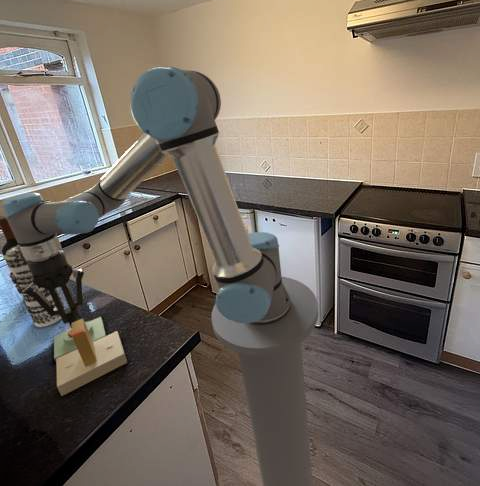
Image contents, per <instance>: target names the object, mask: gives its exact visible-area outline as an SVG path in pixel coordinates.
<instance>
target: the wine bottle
mask: <svg viewBox="0 0 480 486" xmlns="http://www.w3.org/2000/svg"><path fill="white" fill-rule="evenodd" d="M0 230H1V231H2V234H3V236H4V238H5V240H6V242H5V244H4V245H3V246H2V248H1V254H2V256H3V257H4V256H5V255H6V252H7V251H8V250H9V249H11V248H12V247H15V246H18V245H19V244H18V242H17V240H16V238H15V236H14V234H13V232H12V229H11V227H10V225H9V223H8V221H7V219H6V216H5V215H4V216H1V217H0ZM8 266H9V265H8V264H7V267H8ZM13 276H14V275H13ZM15 281H16V280H15ZM18 286H19V285H18Z"/></svg>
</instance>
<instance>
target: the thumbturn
mask: <svg viewBox="0 0 480 486" xmlns="http://www.w3.org/2000/svg"><path fill="white" fill-rule="evenodd" d="M85 322H86V321H85V319H84V318H81V319H80V318H79V319H77V321H75V322H73V323H71V325H72V338H73V340H74V342H75V345H76V347H77V349H78V351H79V354H80V356H81V358H82V360H83V363H84V365H85V366H87V365H89V364H92V363H94V362H96V361H97V359H96V353H95V346H94V344H93V341H92V339H91V336H90V334H89V332H88V329H87V327H86V324H85Z"/></svg>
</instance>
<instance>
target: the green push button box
mask: <svg viewBox="0 0 480 486" xmlns="http://www.w3.org/2000/svg"><path fill="white" fill-rule="evenodd" d="M84 322H85V324H86V327H87V329H88V332H89V334H90V336H91V339H92V341H93V342H94V341H97V340H99V339H101V338H103V337H105V336H107V333H106V330H105V326H104V321H103V318H102V316H99V317H97V318H94V319H92V320H90V321H89V320H88V321H84ZM70 330H71V326H69V328H67V329H66V330H65V331H64V332H61V333H59V334H55V335H54V336H53V359H54V361H55V362H56V359H57V358H59V357H61V356H63V355H66V354H68V353H70V352H72V351H74V350H77V347H76V345H75V342H74V340H73V338H72V337H70V336H69V331H70Z"/></svg>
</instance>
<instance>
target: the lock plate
mask: <svg viewBox="0 0 480 486" xmlns="http://www.w3.org/2000/svg"><path fill="white" fill-rule="evenodd" d="M93 344H94V346H95V353H96V359H97V361H96V362H94V363H92V364H89V365H87V366H85V365H84V363H83V360H82V358H81V356H80V354H79V351H78V349H77V350H74V351H72V352H70V353H68V354H66V355H63V356H61V357H59V358H57V359H56V361H55V362H56V388H57V390H58V392H59V394H60V396H61V397H63V396H65V395H67V394H69V393H71V392H73V391H75V390H77V389H79V388H80V387H83V386H85V385H87V384H89V383H91V382H93V381H94V380H96V379H98V378H100V377H102V376H104V375H106V374H108V373H110V372H113V371H114V370H115V369H117V368H120V367H122V366H123V365H126V364H128V360H127V357H126V353H125V350H124V347H123V344H122V340H121V337H120V334H119V332H118V330H116V331H114V332H112V333H110V334H107V335H106V336H105V337H103V338H101V339H99V340H97V341H94V342H93Z"/></svg>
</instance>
